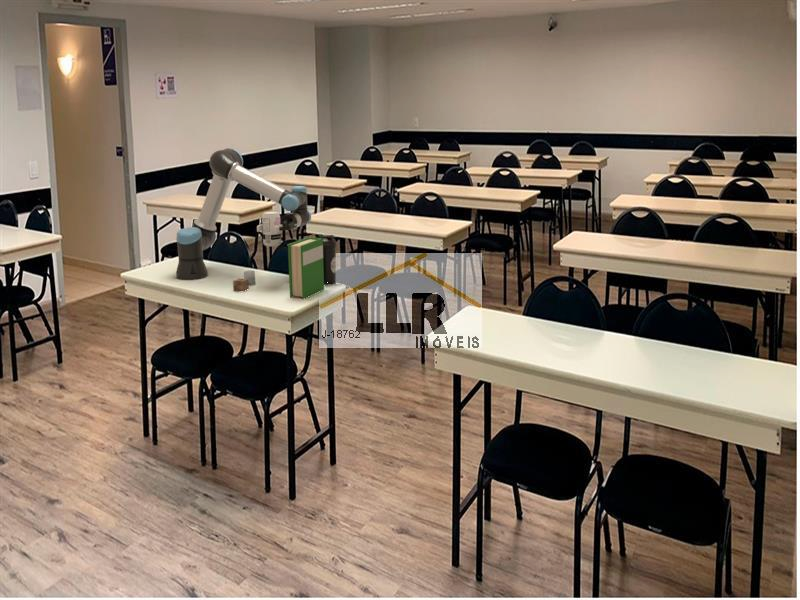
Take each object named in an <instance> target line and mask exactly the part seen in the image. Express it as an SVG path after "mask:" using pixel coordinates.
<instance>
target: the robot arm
mask: <svg viewBox="0 0 800 600" xmlns="http://www.w3.org/2000/svg"><path fill="white" fill-rule="evenodd" d="M243 165H244V159H243V157H242V153H240V152H239V151H238V150H237V149H234V148H224V149H221V150H220V149H219V150H217V151H214V152H213V153H212V154H211V155H210V158H209V167H210V169H211V173H212V175H213V176H212V179H211V181H210V185H209V187H208V190H207V193H206V197H205V199H204V202H203V203H202V207H201V210H200V212H199V216H198V218H196V219H195V220H194V221H193V223H192V226H191V227H185V228H180V229H179V230H178V231H177V233H176V239H175V240H176V244H177V255H178V262H177V268H176V272H175V278H176V279H178V278H179V280H184V281H185V280H186V281H190V280H199V278H200V279H204V278H206V276H207V277H208V276H209V274H208V273H209V271H208V269H207V267H206V264H205V262H204V255H203V254H204V251H205V250H208V249H209V248H210V247H212V246H213V244H215V241H216V239H217V234H216V232H217V229H218V228H217V226H216V223H217V219H218V217H219V215H220V212H221V209H222V206H223V203H224V200H225V198H226V194H227V192H228V189H229V187H230V184H231V182H233V181H234V182H236V183H238V184H240V185H242V186H243V187H245V188H247V189H250V190H251V191H253V192H255V193H257V194H259V195H261V196H264V197H265V198H267V199H269V200H271V201H272V202H274V203H276V204H279V205H280V206H281V207H282V208H283V209H284V210H285V211H287V212H290V213H286V214H284V215H282V216H280V225H279V226H276V227H274V233H278V232H280V231H281V232H283V231H284V232H285V231H288V232H289V231H291V230H295V229H296V228H297V229H298V227H303V226H306V225H307V224H309V223H310V222H311V220H312V214H311V213H310V211H309V210H308V190H307V187H306V186H304V185H294V186H292V187H291V189H290V191H289V190H287V189H286V188H284V187H282V186H279V185H278V184H276V183H275V182H273V181H272V182H271V181H270V180H268V179H267V178H264V177H262V176H261V175H259V174H257V173H255V172H254V171H251V170H249V169H248V168H245V167H244V166H243ZM256 232H257V233H259V232H263V229H262V222H259V224H258V225H257V226H256Z"/></svg>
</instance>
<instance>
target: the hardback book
mask: <svg viewBox="0 0 800 600" xmlns="http://www.w3.org/2000/svg"><path fill="white" fill-rule="evenodd" d="M287 253H288V254H287V255H288V256H287V257H288V277H289V279H288V280H289V284H288V285H289V298H293V296H294V297H301V298H302V299H303V298H305V299H307V298H309V297H308V296H310V297H312V296H313V294H314V295H315V293H316V294H318V293H320V292H322V291H324V290H325V285H324V268H323V239H322V238H317V237H311V236H310V237H309V236H308V237H306V238H302V239H300V240H296V241H294V242H290V243H288V244H287ZM323 289H324V290H323ZM321 290H322V291H321ZM319 291H320V292H319ZM317 292H318V293H317ZM311 295H312V296H311ZM306 297H307V298H306Z"/></svg>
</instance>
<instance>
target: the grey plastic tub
mask: <svg viewBox="0 0 800 600" xmlns="http://www.w3.org/2000/svg"><path fill="white" fill-rule="evenodd" d="M255 273H256V271H255V270H244V271H243V279H248V282H249V286H254V285H256V284H257V283H256V274H255ZM255 283H256V284H255ZM253 284H254V285H253Z"/></svg>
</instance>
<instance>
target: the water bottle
mask: <svg viewBox="0 0 800 600" xmlns="http://www.w3.org/2000/svg"><path fill="white" fill-rule="evenodd" d="M334 237H335V235H333V234H330V235H323V234H318V235H317V236H316V238H322V239H323V268H324V286H329V285H328V284H332V285H334V284H336V280H337V278H336V276H337V274H336V273H337V264H336V263H337V255H336V254H337V251H336V250H337V245H338V244H337V241H336V239H335V238H334ZM327 282H328V283H327Z"/></svg>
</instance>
